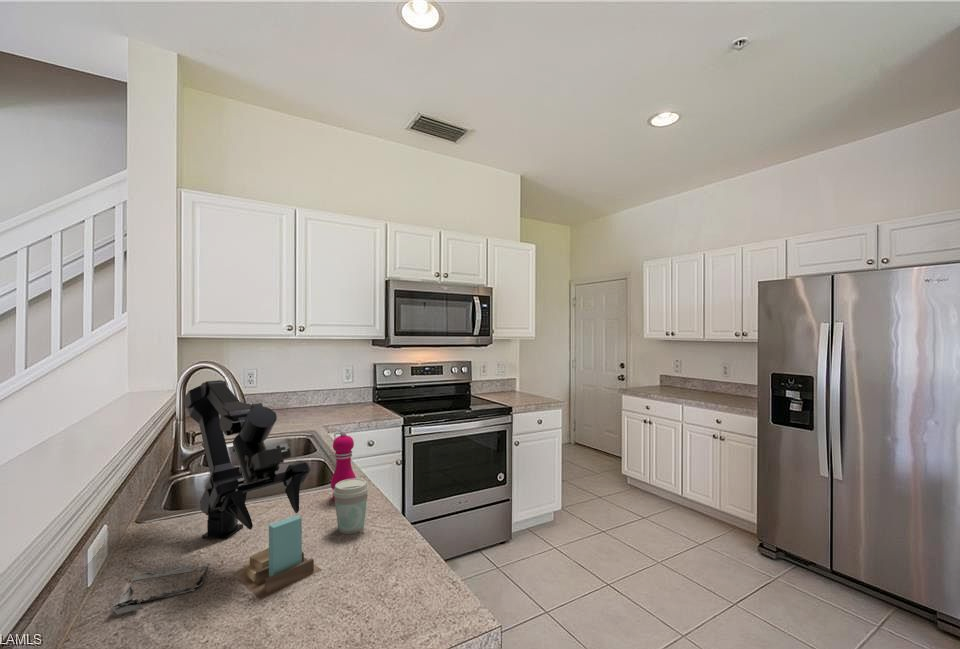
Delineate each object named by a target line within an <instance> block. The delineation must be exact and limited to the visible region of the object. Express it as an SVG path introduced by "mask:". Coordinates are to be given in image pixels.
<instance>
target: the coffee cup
mask: <svg viewBox="0 0 960 649" xmlns="http://www.w3.org/2000/svg"><path fill="white" fill-rule="evenodd" d="M369 487H370V486H369V485H368V482H367V480H366V479H363V478H355V479H347V480H343V481H340V482H338V483H337V484H336V485H335V488H334V490H333V489H332V490H333V492H332V497H333V496H334V498H335V501H334V505H335V506H334V507H335V513H336V514H335V515H336V524H337V531H338V532H339V533H340V534H345V535H350V534H356V533H360V534H363V533H364V530H365V523H366V522H365V521H366V513H367V512H366V511H367V510H366V509H367V504H368V503H367V502H368V493H369V491H370V488H369Z"/></svg>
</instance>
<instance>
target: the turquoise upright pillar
mask: <svg viewBox="0 0 960 649" xmlns="http://www.w3.org/2000/svg"><path fill="white" fill-rule="evenodd" d="M302 520H303V519H302V517H301V516H299V515H298V514H297V515H293V516H291V517H288V518H285V519H281V520H279V521H277V522H273V523H270V524H269V525H268V548H269V577H270V576H273V575H275V574H277V573H279V572H282V571H284V570H286V569H288V568H291V567H293V566H295V565H297V564H300V563H302V552H303V548H302V547H303V546H302V545H303V542H302V541H303V539H302V537H303V532H302V529H303V527H302V526H303V525H302V523H303V522H302Z"/></svg>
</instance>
